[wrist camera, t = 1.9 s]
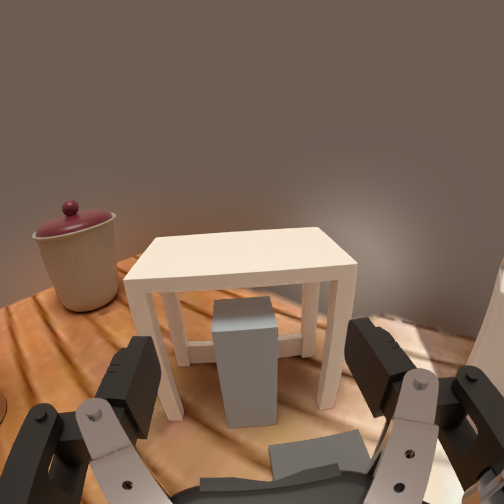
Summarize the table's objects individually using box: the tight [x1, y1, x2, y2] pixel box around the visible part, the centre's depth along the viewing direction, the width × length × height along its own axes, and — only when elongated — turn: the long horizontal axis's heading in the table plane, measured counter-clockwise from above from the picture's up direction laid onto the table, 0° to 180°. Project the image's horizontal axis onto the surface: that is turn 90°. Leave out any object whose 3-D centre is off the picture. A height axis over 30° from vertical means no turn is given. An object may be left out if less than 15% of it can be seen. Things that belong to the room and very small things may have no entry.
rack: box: [123, 227, 358, 421], centre depth 28 cm, size 11×18×17 cm, turn 94°
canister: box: [32, 200, 118, 312], centre depth 48 cm, size 18×18×21 cm
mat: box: [269, 429, 371, 481], centre depth 18 cm, size 9×9×1 cm
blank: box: [212, 296, 278, 428], centre depth 25 cm, size 5×5×13 cm
